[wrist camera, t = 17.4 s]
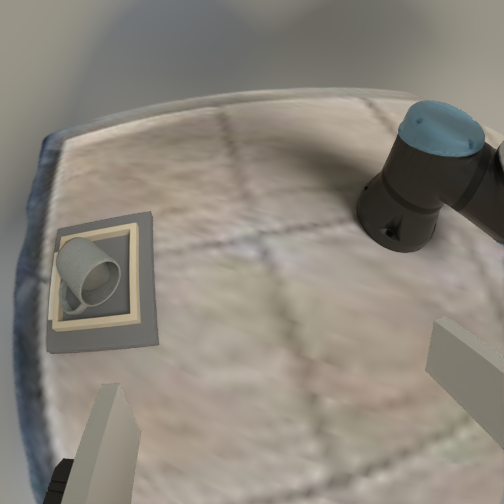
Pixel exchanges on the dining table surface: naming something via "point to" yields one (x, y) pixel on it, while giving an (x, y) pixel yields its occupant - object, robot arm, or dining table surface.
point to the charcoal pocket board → (120, 302)
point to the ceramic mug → (86, 274)
